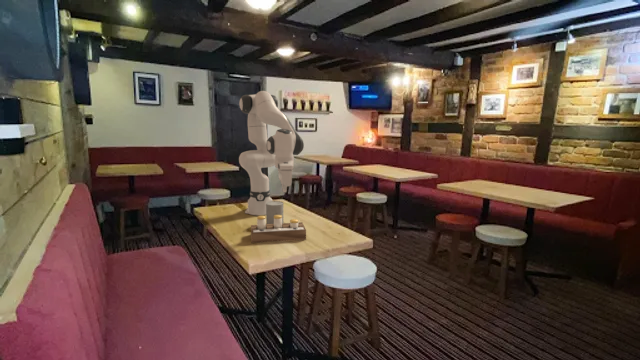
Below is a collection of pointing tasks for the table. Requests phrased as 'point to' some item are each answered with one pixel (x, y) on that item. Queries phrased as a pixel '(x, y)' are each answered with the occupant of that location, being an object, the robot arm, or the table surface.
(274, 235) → the button board
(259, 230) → the strip
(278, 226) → the middle button
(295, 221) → the button
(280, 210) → the grey concrete cylinder
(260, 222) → the button
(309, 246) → the table surface
